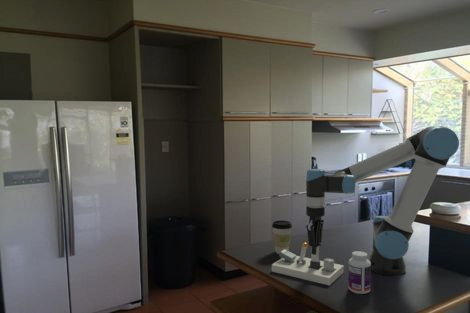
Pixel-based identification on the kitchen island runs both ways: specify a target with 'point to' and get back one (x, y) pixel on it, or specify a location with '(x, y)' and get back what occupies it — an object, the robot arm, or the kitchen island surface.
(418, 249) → the kitchen island surface
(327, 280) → the panel
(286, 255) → the slate blue block
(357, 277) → the pill bottle
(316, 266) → the button black
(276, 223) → the coffee cup
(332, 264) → the button grey
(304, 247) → the lever
